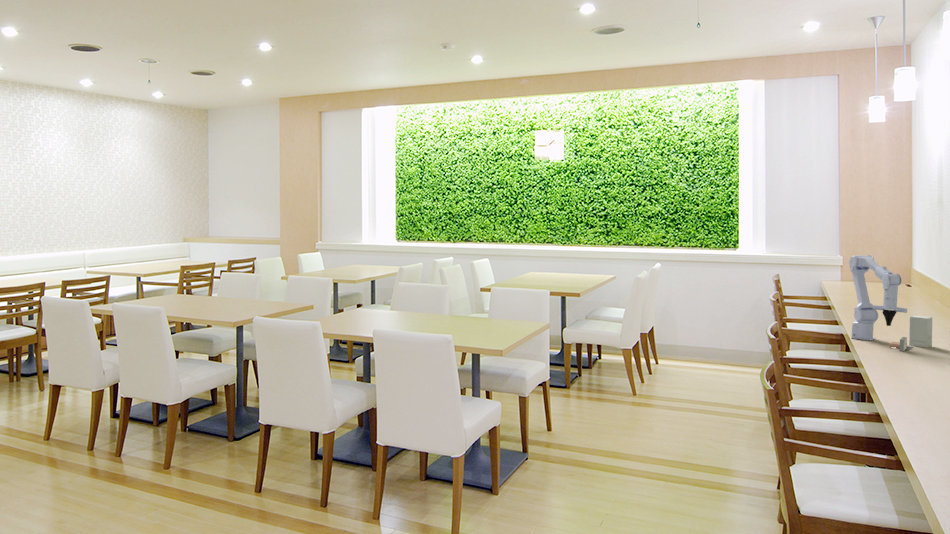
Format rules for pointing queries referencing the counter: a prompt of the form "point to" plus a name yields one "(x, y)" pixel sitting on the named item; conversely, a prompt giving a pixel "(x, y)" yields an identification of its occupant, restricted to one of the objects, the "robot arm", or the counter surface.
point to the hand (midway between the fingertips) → (888, 325)
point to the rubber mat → (907, 348)
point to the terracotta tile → (895, 344)
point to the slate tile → (903, 344)
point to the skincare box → (920, 331)
